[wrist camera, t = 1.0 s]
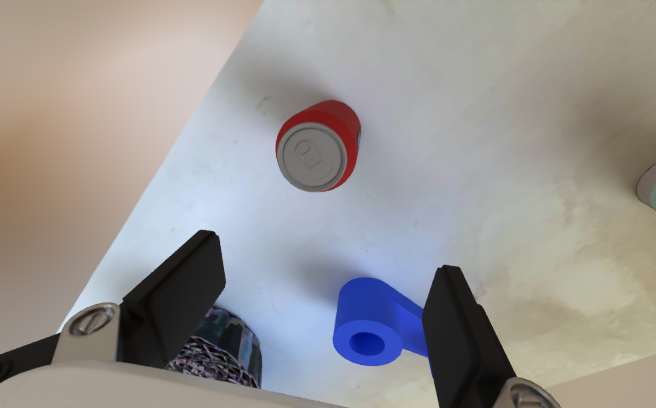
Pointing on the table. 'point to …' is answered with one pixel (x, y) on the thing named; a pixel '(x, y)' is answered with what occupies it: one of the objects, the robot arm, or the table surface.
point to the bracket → (376, 323)
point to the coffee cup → (648, 188)
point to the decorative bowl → (221, 351)
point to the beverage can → (319, 146)
